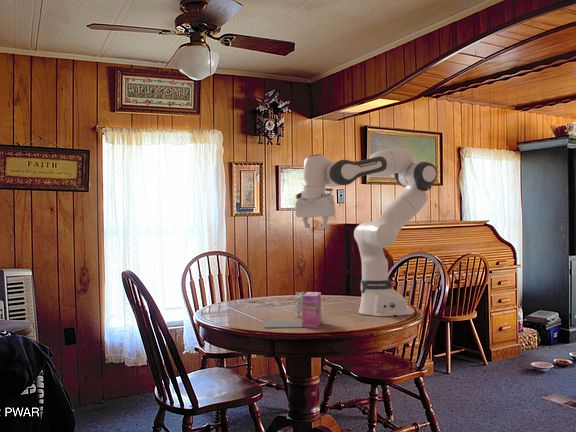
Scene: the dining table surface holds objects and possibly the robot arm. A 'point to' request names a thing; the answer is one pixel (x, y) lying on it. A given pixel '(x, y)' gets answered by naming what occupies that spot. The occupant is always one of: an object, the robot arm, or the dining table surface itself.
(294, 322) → the mat
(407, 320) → the dining table surface
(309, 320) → the box
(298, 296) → the dog figurine
